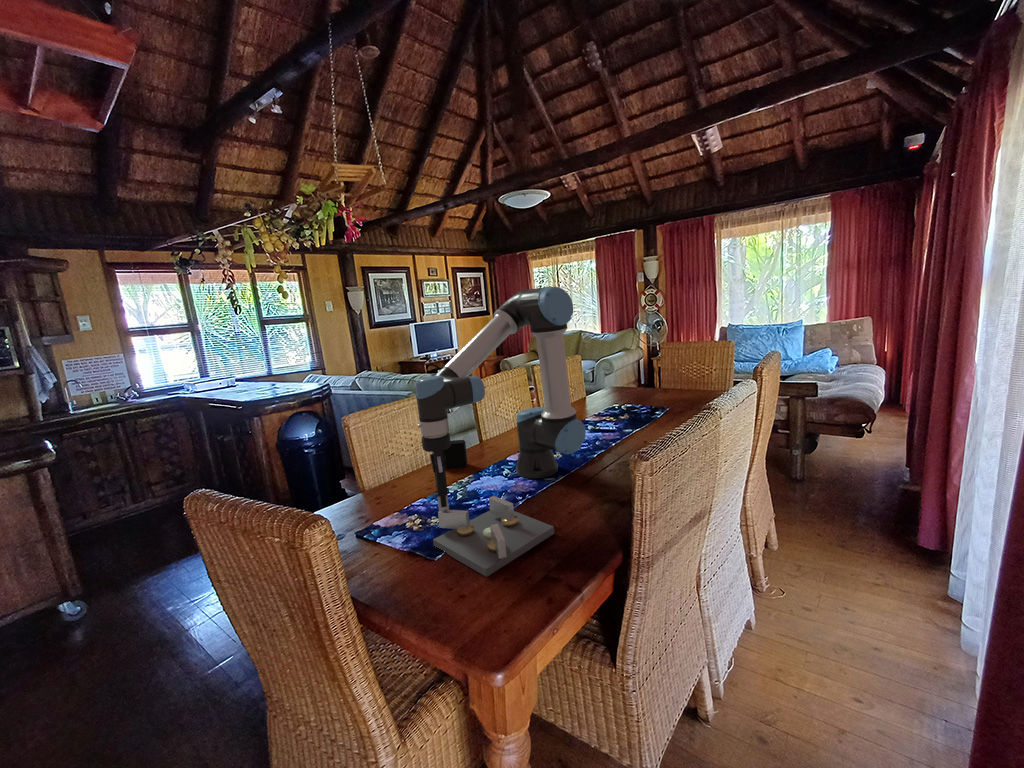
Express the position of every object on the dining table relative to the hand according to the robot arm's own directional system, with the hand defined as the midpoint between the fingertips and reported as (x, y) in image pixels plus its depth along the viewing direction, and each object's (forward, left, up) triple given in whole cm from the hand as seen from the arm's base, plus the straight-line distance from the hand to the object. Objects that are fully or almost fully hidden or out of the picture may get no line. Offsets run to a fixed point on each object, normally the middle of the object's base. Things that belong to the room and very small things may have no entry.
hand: (444, 515), depth 124 cm
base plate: (-5, +15, -5) cm, 16 cm away
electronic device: (-32, -38, -5) cm, 50 cm away
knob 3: (+1, +23, -2) cm, 23 cm away
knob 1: (+1, +6, -2) cm, 7 cm away
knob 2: (-11, +12, -2) cm, 17 cm away
